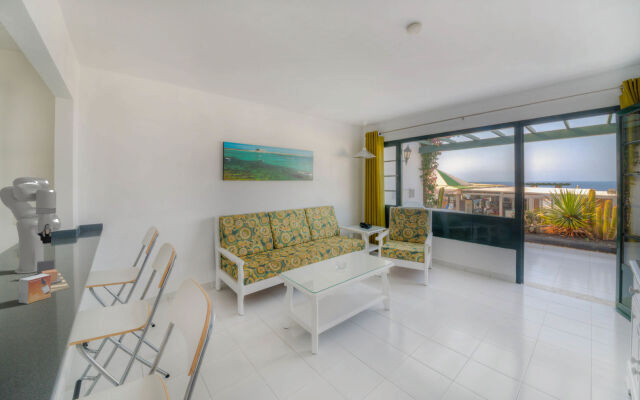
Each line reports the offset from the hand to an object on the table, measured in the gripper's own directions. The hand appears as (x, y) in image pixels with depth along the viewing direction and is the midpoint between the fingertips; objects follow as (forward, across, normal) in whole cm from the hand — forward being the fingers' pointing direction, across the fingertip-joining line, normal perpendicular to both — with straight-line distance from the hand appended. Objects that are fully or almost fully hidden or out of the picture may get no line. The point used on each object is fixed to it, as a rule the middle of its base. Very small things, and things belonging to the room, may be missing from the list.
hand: (45, 241), depth 136 cm
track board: (+20, +14, 0) cm, 24 cm away
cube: (+18, +17, 0) cm, 24 cm away
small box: (+20, +36, -6) cm, 42 cm away
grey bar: (+18, +10, 0) cm, 21 cm away
